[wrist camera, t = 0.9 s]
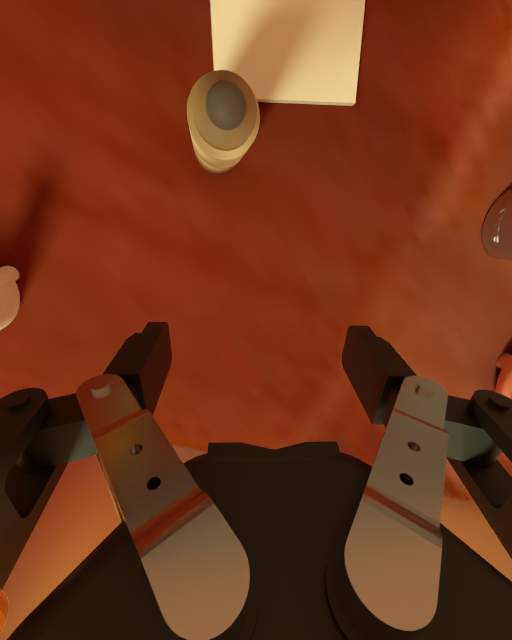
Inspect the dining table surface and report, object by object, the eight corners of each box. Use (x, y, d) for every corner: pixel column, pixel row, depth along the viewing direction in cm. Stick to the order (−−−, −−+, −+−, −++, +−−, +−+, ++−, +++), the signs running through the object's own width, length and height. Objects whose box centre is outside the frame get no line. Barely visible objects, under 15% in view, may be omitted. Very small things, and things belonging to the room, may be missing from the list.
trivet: (370, -93, 24) (375, -103, 23) (351, 105, 29) (355, 103, 29) (203, -118, 22) (203, -130, 21) (215, 100, 27) (215, 97, 27)
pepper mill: (240, 120, 28) (269, 46, 15) (242, 174, 30) (269, 149, 17) (191, 119, 28) (178, 40, 15) (196, 174, 29) (187, 148, 16)
